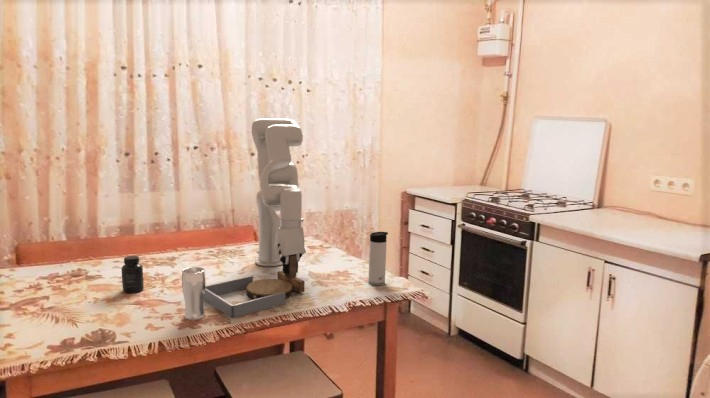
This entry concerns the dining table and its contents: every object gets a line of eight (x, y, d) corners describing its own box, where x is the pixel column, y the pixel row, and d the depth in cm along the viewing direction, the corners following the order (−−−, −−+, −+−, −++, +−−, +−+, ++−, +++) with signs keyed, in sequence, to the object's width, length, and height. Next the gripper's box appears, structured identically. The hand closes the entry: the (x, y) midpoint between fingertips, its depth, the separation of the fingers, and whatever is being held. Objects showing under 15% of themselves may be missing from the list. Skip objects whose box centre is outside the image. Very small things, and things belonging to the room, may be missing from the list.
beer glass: (185, 311, 164) (184, 266, 161) (208, 311, 164) (207, 266, 162) (180, 320, 157) (178, 273, 154) (203, 320, 157) (202, 273, 155)
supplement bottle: (148, 288, 183) (146, 256, 181) (134, 294, 176) (132, 261, 174) (132, 285, 185) (130, 253, 183) (118, 292, 179) (116, 258, 176)
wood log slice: (300, 297, 179) (300, 289, 178) (257, 306, 170) (257, 297, 170) (280, 283, 192) (280, 276, 191) (239, 291, 183) (239, 283, 183)
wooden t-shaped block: (276, 282, 191) (276, 251, 189) (282, 280, 193) (283, 249, 191) (298, 293, 181) (299, 260, 179) (305, 291, 183) (305, 258, 181)
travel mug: (384, 286, 192) (386, 234, 188) (367, 285, 193) (368, 233, 189) (386, 281, 198) (388, 230, 194) (369, 279, 199) (371, 229, 195)
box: (201, 298, 175) (200, 286, 175) (251, 285, 188) (251, 275, 188) (232, 318, 160) (232, 306, 159) (285, 303, 173) (285, 292, 172)
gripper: (302, 218, 191) (302, 266, 194) (265, 224, 180) (265, 274, 183) (315, 222, 185) (314, 271, 189) (277, 228, 174) (277, 280, 178)
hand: (290, 272), depth 186 cm, fingers closed on wooden t-shaped block, 3 cm apart
